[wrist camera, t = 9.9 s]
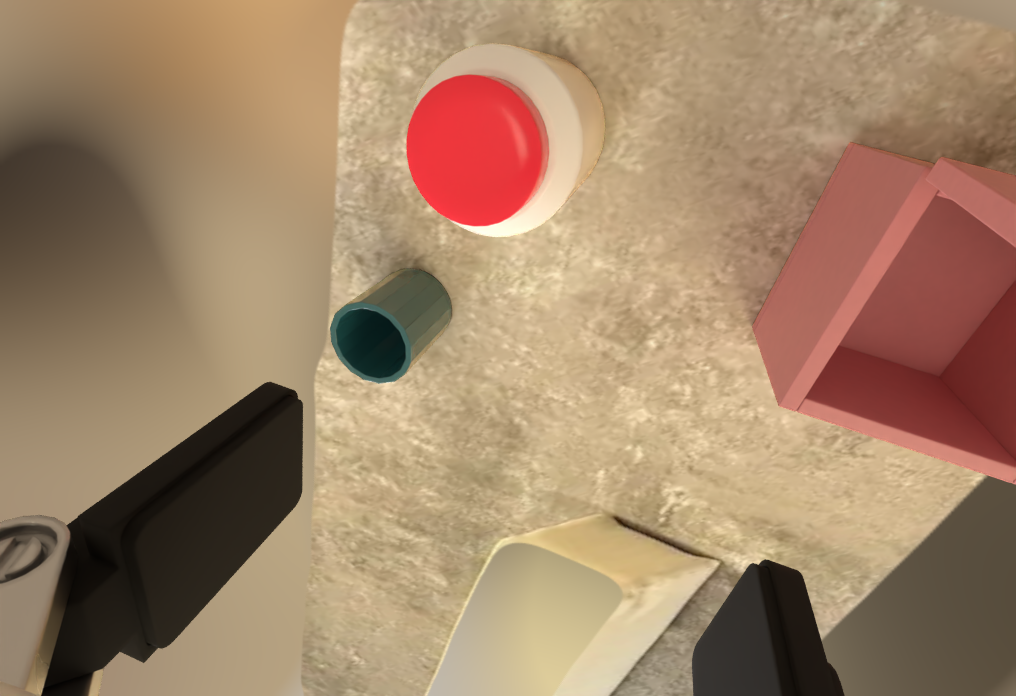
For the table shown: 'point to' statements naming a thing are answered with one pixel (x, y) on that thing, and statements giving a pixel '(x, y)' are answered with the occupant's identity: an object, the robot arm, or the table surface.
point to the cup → (391, 325)
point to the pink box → (898, 317)
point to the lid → (979, 193)
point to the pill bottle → (503, 137)
